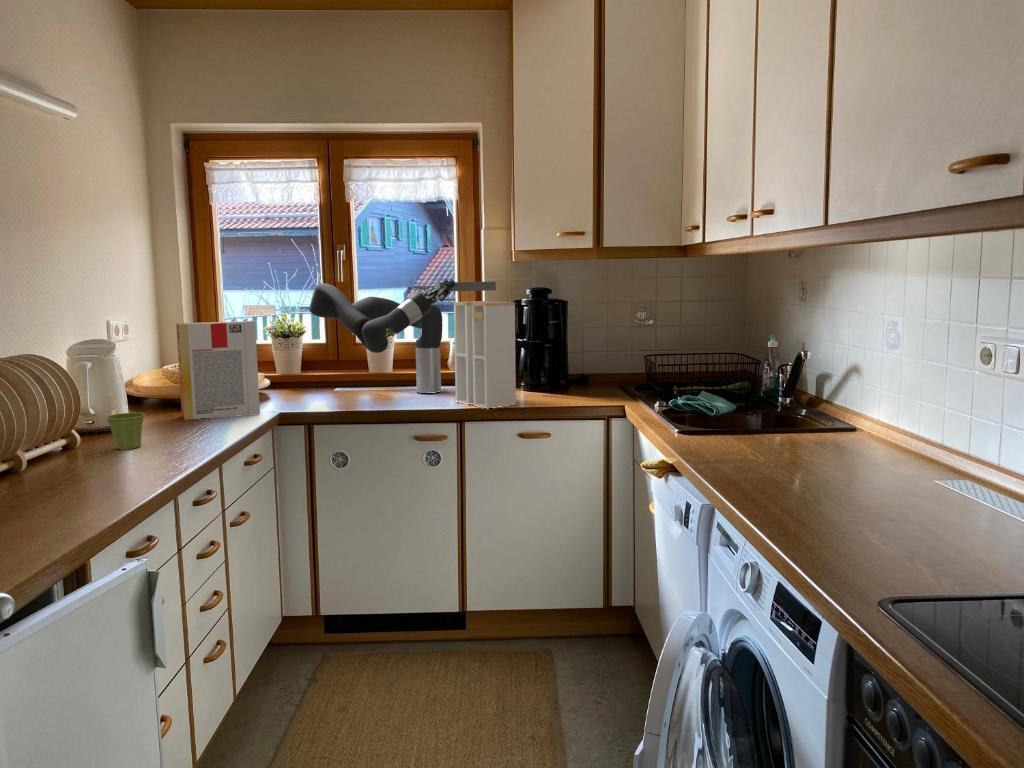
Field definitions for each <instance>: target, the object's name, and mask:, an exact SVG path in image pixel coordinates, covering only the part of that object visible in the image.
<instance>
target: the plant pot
mask: <svg viewBox="0 0 1024 768" xmlns="http://www.w3.org/2000/svg"><path fill="white" fill-rule="evenodd" d="M145 416H146V413H144V412H124V413H122V412H121V413H115V414H111V415H107V416H105V419H106V420H107V423H108V425H109V426H110V431H111V434H112V439H113V443H114V447H115V449H116V450H121V451H125V450H135V448H141V446H142V434H143V432H142V431H143V430H142V429H143V422H144V417H145Z"/></svg>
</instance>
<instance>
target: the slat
mask: <svg viewBox="0 0 1024 768" xmlns="http://www.w3.org/2000/svg"><path fill="white" fill-rule="evenodd" d="M454 282H455V284H456V285H455V286H454V287H453V288H451V289H450V290H449V292H481V291H486V292H487V291H497V281H454ZM447 283H448V282H444V281H442V282H434V287H435V289H436V288H440V287H442V286H443V285H445V284H447ZM437 292H438V291H437Z"/></svg>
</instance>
